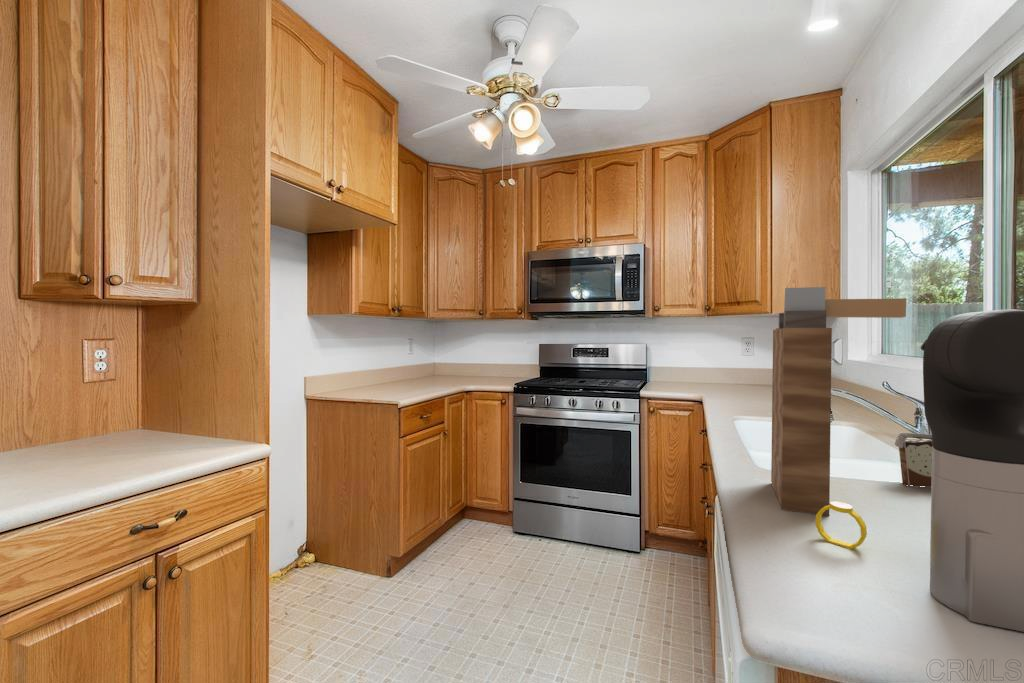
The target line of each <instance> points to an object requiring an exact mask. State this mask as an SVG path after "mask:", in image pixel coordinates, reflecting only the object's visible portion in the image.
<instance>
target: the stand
mask: <svg viewBox="0 0 1024 683" xmlns="http://www.w3.org/2000/svg"><path fill="white" fill-rule="evenodd" d="M832 330H833V328H832V327H827V317H826V310H809V311H785V315H784V312H780V313H778V327H777V328H775V329H773V330H772V381H771V382H772V387H771V388H772V389H771V392H772V393H771V394H772V395H771V396H772V397H771V398H772V401H771V407H772V408H771V464H770V466H771V468H770V469H771V473H770V474H771V475H770V478H771V479H770V482H772V484H771V486H772V485H773V486H772V489H773V488H774V489H773V491H774V490H775V491H774V494H775V493H776V494H775V496H776V498H777V502H778V504H779V506H780V509H781V510H783V511H789V512H790V511H791V512H797V513H804V514H811V515H813V514H814V515H817V513H818V512H819V511H820V510H821V509H822V508H823V507H825V506H828V505H829V504H830V501H831V500H830V496H831V495H830V492H831V491H830V488H831V487H830V486H831V485H830V484H831V483H830V482H831V480H830V478H831V476H830V475H831V420H832V419H831V416H832V415H831V412H832V411H831V409H832V406H831V405H832V400H831V399H832V352H833V351H832V346H833V345H832V342H833V341H832V340H833V339H832V337H833V336H832V335H833V331H832ZM822 516H825V517H830V509H828V510H825V511H824V512H823V514H822Z"/></svg>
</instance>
